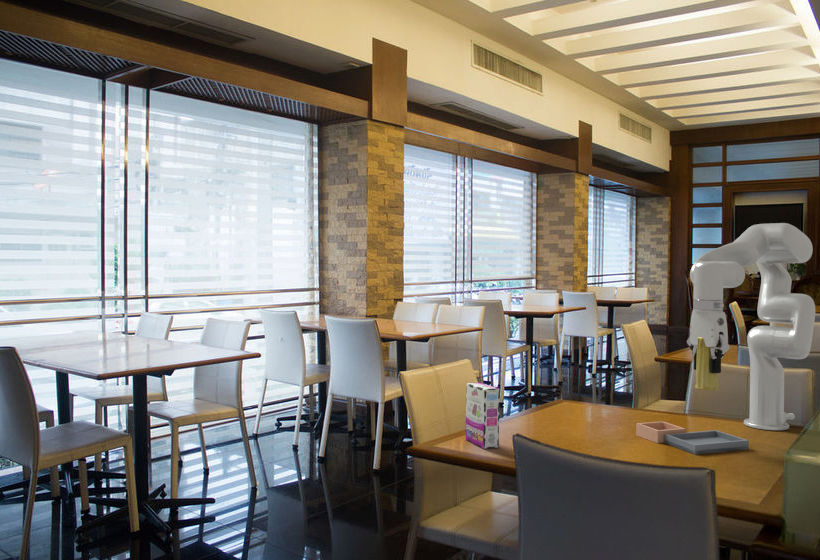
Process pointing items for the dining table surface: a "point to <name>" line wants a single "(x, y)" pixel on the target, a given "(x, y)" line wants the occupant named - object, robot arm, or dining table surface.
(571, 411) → the dining table surface
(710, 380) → the vase
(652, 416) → the dining table surface
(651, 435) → the holder
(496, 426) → the candy bar box
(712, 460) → the dining table surface
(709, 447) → the tray
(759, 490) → the dining table surface
